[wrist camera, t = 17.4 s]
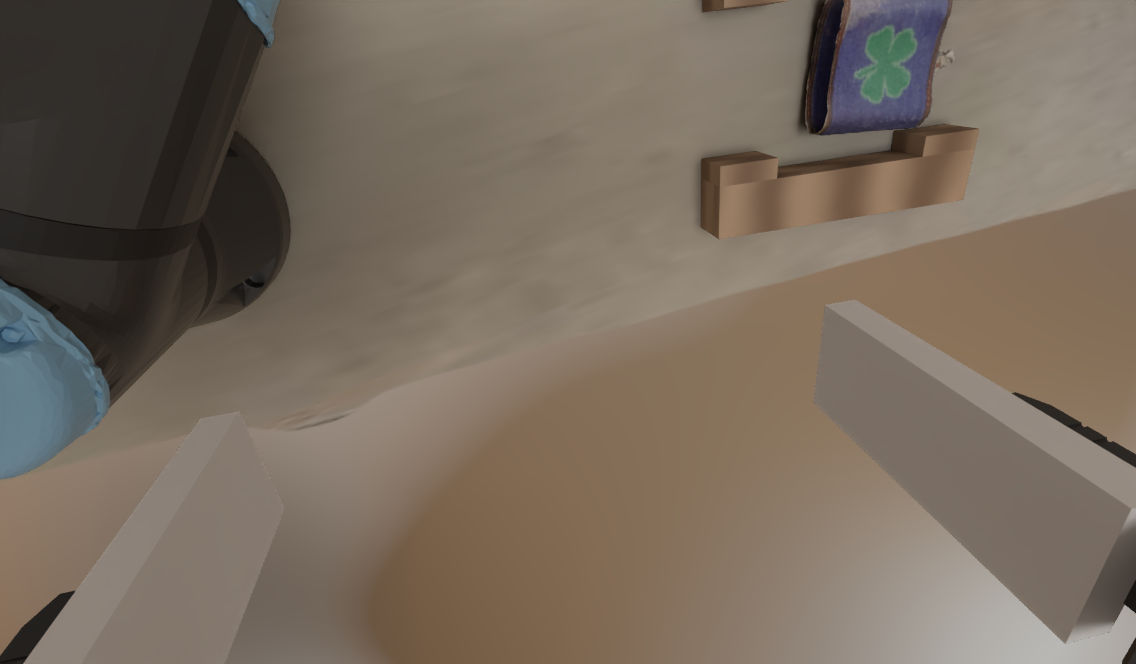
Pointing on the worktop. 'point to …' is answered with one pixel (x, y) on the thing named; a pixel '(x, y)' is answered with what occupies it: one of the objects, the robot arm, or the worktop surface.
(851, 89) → the flask
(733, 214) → the holder
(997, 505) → the robot arm
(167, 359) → the worktop surface
